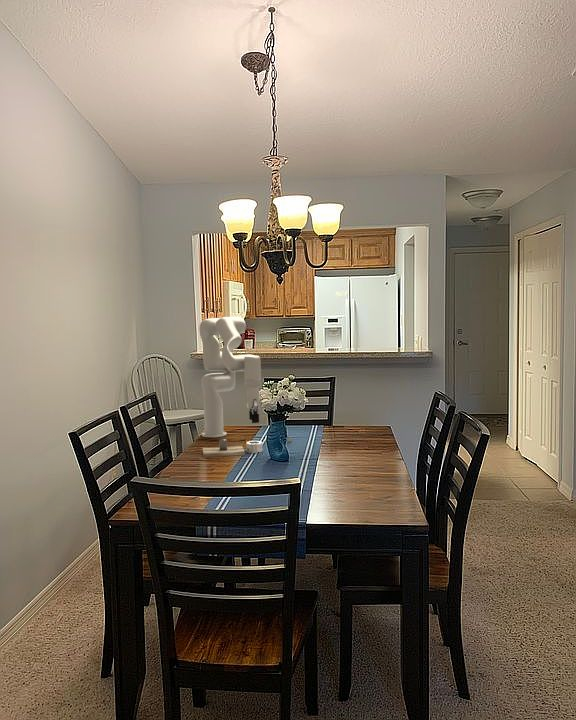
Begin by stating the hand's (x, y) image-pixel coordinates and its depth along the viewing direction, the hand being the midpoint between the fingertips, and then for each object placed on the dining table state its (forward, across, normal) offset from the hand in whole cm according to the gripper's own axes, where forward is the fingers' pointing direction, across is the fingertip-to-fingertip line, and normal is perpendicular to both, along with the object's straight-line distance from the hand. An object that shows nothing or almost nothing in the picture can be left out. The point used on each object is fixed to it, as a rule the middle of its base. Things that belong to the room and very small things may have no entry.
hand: (254, 421), depth 294 cm
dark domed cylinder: (+12, -1, -14) cm, 19 cm away
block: (+14, -1, -14) cm, 20 cm away
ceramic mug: (+14, -18, +14) cm, 27 cm away
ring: (+14, -1, 0) cm, 14 cm away
